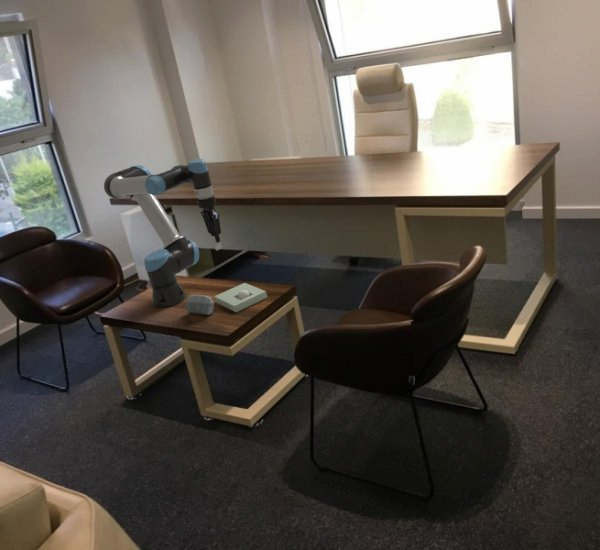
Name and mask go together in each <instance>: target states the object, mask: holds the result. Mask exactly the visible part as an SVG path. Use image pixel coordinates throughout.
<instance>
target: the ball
mask: <svg viewBox="0 0 600 550" xmlns="http://www.w3.org/2000/svg"><path fill="white" fill-rule="evenodd" d="M248 296H250V295H249V292H248V291H246V290H241V291H240V292H239V293H238V298H239V300H242V299H244V298H246V297H248Z"/></svg>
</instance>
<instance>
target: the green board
mask: <svg viewBox="0 0 600 550" xmlns="http://www.w3.org/2000/svg"><path fill="white" fill-rule="evenodd" d="M241 290H246V291H248V292H249V295H250V296H248V297H246V298H244V299H242V300H239V298H238V293H239V292H240V291H241ZM265 299H268V293H267V291H266V290H263V289H261V288H259V287H256V286H254V285H251V284H249V283H246V282H243V283H240V284H239V285H236V286H235V287H232V288H230V289H228V290H225V291H223V292H221V293H219V294H216V295H214V300H215V303H217V304H218V305H220V306H223V307H224V308H227V309H228V310H230V311H233V312H234V313H238V312H240V311H242V310H244V309H246V308H249V307H250V306H253V305H254V304H257V303H259V302H261V301H264V300H265Z"/></svg>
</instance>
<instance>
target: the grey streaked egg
mask: <svg viewBox="0 0 600 550" xmlns="http://www.w3.org/2000/svg"><path fill="white" fill-rule="evenodd" d="M214 308H215V302H214V300H213V298H212V297H210V296H209V295H208V296H207V295H203V294H191V295H188V296H187V298H186V300H185V310H186V311H187V312H188V313H189V314H198V315H203V316H204V315H205V316H206V315H207V316H210V315H211V314H212V313H213V312H214Z"/></svg>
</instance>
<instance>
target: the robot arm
mask: <svg viewBox="0 0 600 550" xmlns="http://www.w3.org/2000/svg"><path fill="white" fill-rule="evenodd" d="M186 184H192V186H193V190H194V195H195V198H196V201H197V205H198V208H200V209H201V210H202V211H200V215H201V217H202V219H203V222H204V224H205V227H206V230H207V232H208V234H210V236H211V238H212V242H213V246H214V249H215V251H219V250H221V249H223V245H222V242H221V238H220V237H221V236H220V235H221V234H222V228H221V222H220V213H218V212H216V208H215V206H216V204H217V200H216V197H215V195H214V194H215V192H214V189H213V184H212V180H211V177H210V172H209V168H208V165H207V163H206V160H205V159H203V158H199V159H193V160H190V161H189V162H188V163H187V164H186V165H183V164H179V165H174V166H172V168H170V169H169V170H165V171H164V172H160V173H158V174H152V172H151V171H150V170H149V169H148V167H145V166H143V165H140V164H139V165H137V164H136V165H132V166H130V167H129V168H125V169H122V170H120V171H116V172H113V173H111V174H109V175H108V176H107V177H106V179H105V180H104V183H103V189H104V192H105V193H106V195H107V196H108V197H109V198H111V199H116V200H117V199H124V198H126V197H130V199H131V200H132V201H134V202H137V204H138V206H139V207H140V209H141V210H142V211H143V213H144V215H145V216H146V218H147V220H148V221H149V223H150V225H151V226H152V228H153V229H154V230H155V233H156V235H158V237H159V239H160V241H161V242H162V244H163V248H161V249H158V250H155V251H152V252H150V253H149V254H147V256H145V258H144V261H143V262H144V267H145V269H144V270H145V271H146V273H147V277H148V279H149V282H150V286H151V289H152V290H151V291H152V293H151V302H152V304H153V307H154V308H160V309H161V308H162V309H163V308H168V307H172V306H175V305H177V304H179V303H181V302H182V301H184V300H185V298H186V294H185V293H186V292H185V291H184V289H183V287H182V286H181V285H180V284H179V282H178V280H177V277H176V274H179V273H181V272H184V270H187V269H188V268H191V267H193V266H194V265H196V264H197V263H198V261H199V259H200V250H199V248H198V245H197V243H195V242H194V241H193V240H191V239H187V237H185V236H184V235H181V234H180V233H179V232H178V230H177V228H176V226H175V225H174V223H173V222H172V220H171V219H170V217H169V215H168V214H167V212H166V211H165V209H164V207H163V206H162V204H161V202H160V201H159V200H158V198H157V195H161V194H163V193H165V192H168V191H170V190H173V189H175V188H178V187H180V186H183V185H186Z"/></svg>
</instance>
